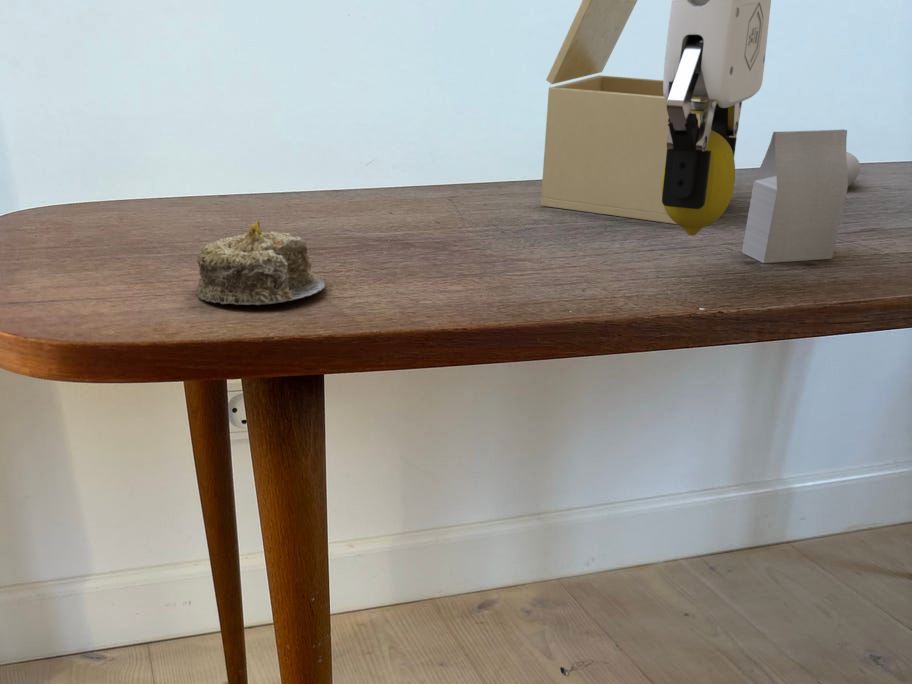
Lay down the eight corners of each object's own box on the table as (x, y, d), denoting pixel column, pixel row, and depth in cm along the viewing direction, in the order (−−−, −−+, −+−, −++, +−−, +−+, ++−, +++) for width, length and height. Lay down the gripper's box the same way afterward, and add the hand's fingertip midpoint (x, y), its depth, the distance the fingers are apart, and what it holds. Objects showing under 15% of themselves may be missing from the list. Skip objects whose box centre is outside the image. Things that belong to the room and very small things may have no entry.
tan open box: (726, 202, 110) (744, 86, 104) (687, 225, 101) (705, 101, 95) (588, 184, 117) (598, 75, 111) (540, 205, 108) (548, 87, 102)
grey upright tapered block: (831, 258, 92) (859, 133, 86) (763, 263, 90) (787, 136, 85) (808, 248, 95) (833, 126, 89) (741, 252, 93) (763, 128, 88)
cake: (183, 317, 78) (168, 241, 75) (213, 281, 86) (200, 211, 83) (316, 309, 77) (306, 232, 74) (333, 274, 85) (325, 203, 82)
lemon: (650, 241, 83) (660, 128, 78) (664, 225, 87) (675, 118, 82) (721, 246, 81) (736, 132, 76) (732, 230, 85) (747, 120, 81)
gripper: (748, -83, 64) (708, 227, 75) (815, -83, 77) (773, 183, 87) (632, -81, 68) (609, 216, 78) (714, -81, 80) (685, 175, 90)
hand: (696, 196), depth 82 cm, fingers closed on lemon, 5 cm apart
